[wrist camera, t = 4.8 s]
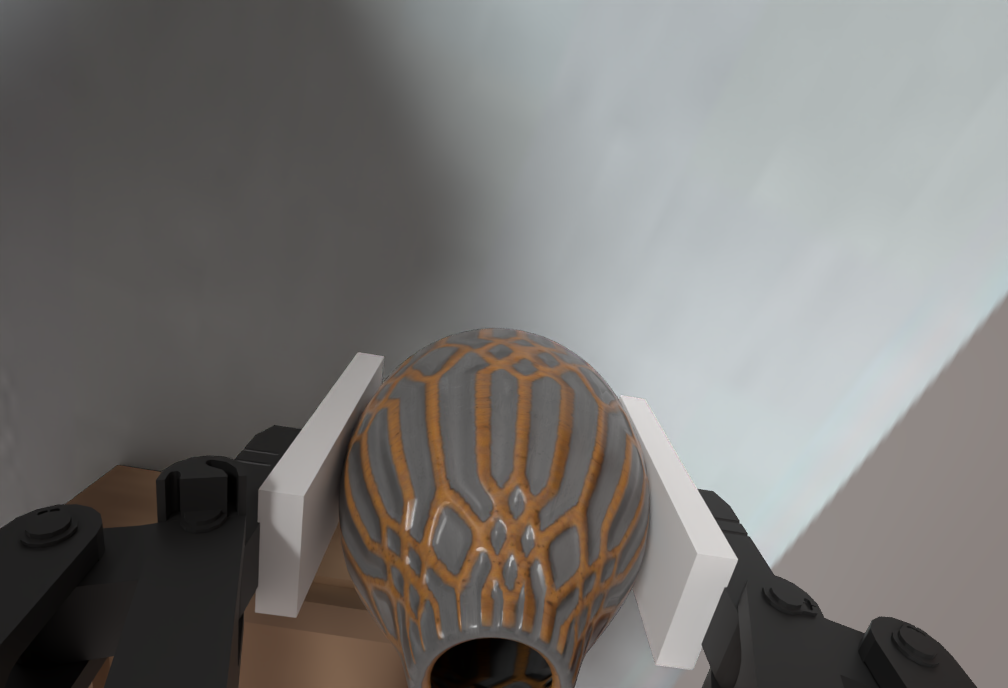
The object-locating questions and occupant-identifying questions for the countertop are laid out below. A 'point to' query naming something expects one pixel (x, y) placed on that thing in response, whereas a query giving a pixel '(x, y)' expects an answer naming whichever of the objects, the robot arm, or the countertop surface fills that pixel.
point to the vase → (493, 511)
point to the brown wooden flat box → (271, 638)
